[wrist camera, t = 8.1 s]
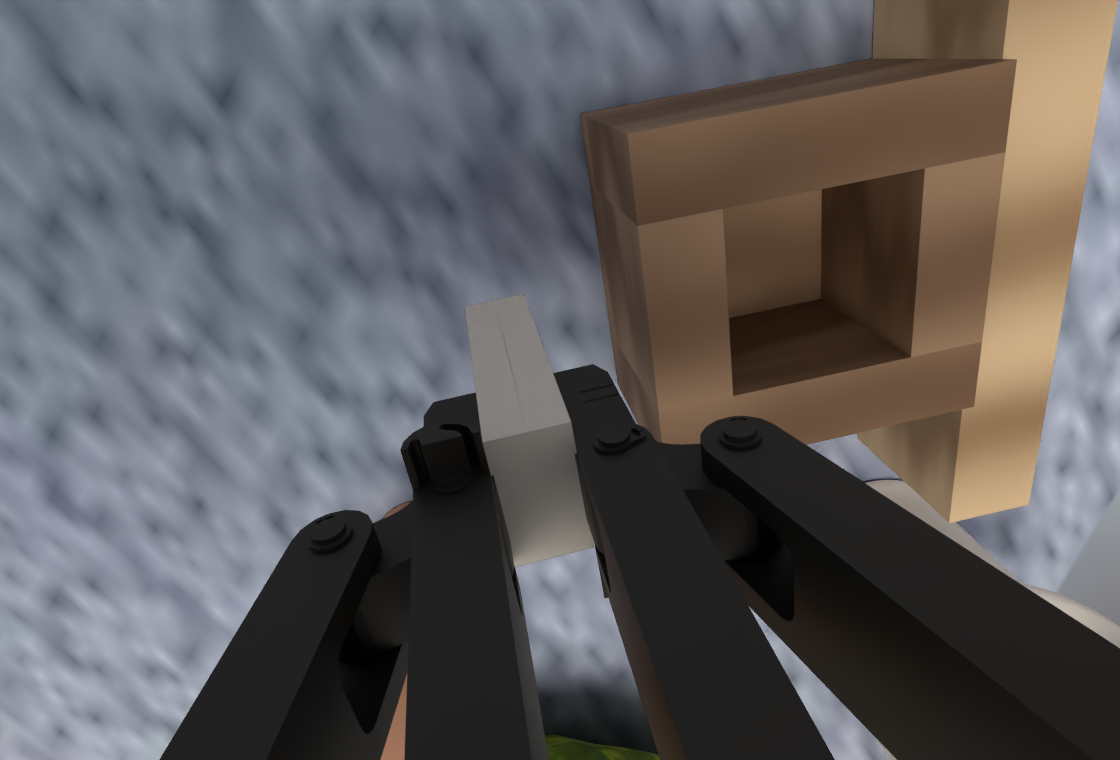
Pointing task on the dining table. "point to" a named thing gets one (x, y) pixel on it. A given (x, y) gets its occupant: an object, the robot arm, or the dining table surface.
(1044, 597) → the mug
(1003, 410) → the backstop
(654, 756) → the lettuce
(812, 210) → the block
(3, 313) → the dining table surface
